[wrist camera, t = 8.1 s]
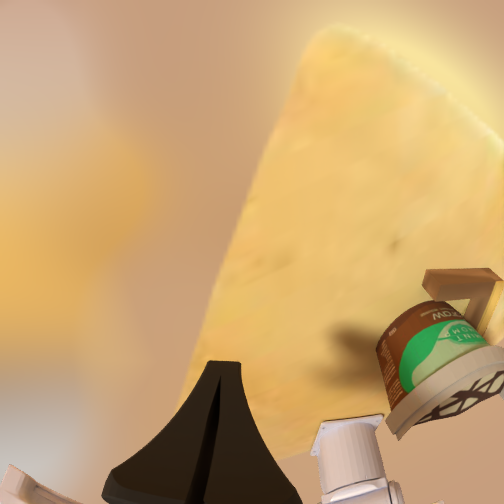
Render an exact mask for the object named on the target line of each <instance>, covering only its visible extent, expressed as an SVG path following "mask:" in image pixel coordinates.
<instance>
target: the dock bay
mask: <svg viewBox="0 0 504 504" xmlns="http://www.w3.org/2000/svg"><path fill="white" fill-rule="evenodd" d="M422 286H423V287H424V289H425V290H426V291H427V292H428V293H429V295H430V296H431V297H432V298H433V300H434V301H435V302H438V301H449V300H460V299H470V298H471V299H470V302H469V305H468V307H467V310H466V312H465V315H464V317H463V318H464V319H465V320H466V321H467V322H468V323H469V324H470V325H471V326H472V327H473V328H474V329H475V330H476V331H477V332H478V333H479V334H480V335H481V336H483V334H484V332H485V330H486V328H487V326H488V323H489V321H490V319H491V317H492V315H493V312H494V310H495V308H496V305H497V303H498V300H499V298H500V295H501V293H502V290H503V287H504V281H503V280H502V279H501V278H500V277H499V276H498V275H496V274H495V273H494V272H493V271H492V270H491V269H489V268H473V269H431V270H426V273H425V276H424V280H423V283H422Z"/></svg>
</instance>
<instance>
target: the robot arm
mask: <svg viewBox="0 0 504 504" xmlns="http://www.w3.org/2000/svg"><path fill="white" fill-rule="evenodd" d="M382 419H383V415H381V414H380V415H374V416H367V417H360V418H353V419H345V420H336V421H325V422H322V423H321V425H320V428H319V431H318V433H317V436H316V439H315V441H314V444H313V447H312V449H311V452H310V455H311V456H314V455H315V456H316V455H317V457H318V465H319V474H320V483H321V489H322V491H323V493H324V494H325V495H323V496H321V497H322V502H319V503H318V504H404V499H403V495H402V491H401V488H400V485H399V483H398V482H395V481H393V480H392V481H390V482H388V480H387V479H386V474H385V470H384V466H383V462H382V458H381V455H380V451H379V447H378V443H377V440H376V436H375V432H374V431H375V430H376V429H377V427H378V425H379V424H380V422H381V420H382ZM101 496H102V498H103V499H104V500H105V501H106V502H107V503H109V504H303V503H302V500H301V498H300V496H299V495H298V493H297V490H296V489H295V487H294V486H293V485H292V484H291V483H290V482H289V480H288V479H287V477H286V476H285V475H284V473H283V472H282V470H281V469H280V468H279V466H278V465H277V463H276V461H275V460H274V458H273V457H272V455H271V453H270V452H269V450H268V448H267V447H266V445H265V443H264V441H263V439H262V437H261V435H260V433H259V431H258V429H257V426H256V424H255V422H254V419H253V417H252V414H251V412H250V409H249V406H248V403H247V399H246V396H245V393H244V388H243V384H242V378H241V363H239V362H234V361H211V360H210V361H208V362H207V364H206V367H205V369H204V371H203V373H202V375H201V377H200V378H199V380H198V382H197V384H196V385H195V387H194V389H193V390H192V392H191V393H190V395H189V397H188V398H187V400H186V401H185V402H184V404H183V405H182V406H181V408H180V409H179V411H178V412H177V413H176V414H175V416H174V417H173V418H172V419H171V421H170V422H169V423H168V424H167V425H166V426H165V428H163V430H161V432H159V434H158V435H157V436H156V437H155V438H153V439H152V440H151V441H150V442H149V443H148V444H147V445H146V446H145V447H143V448H142V449H141V450H140V451H138V452H137V453H136V454H135V455H133V456H132V457H131V458H129V459H128V460H126V461H125V462H123V463H122V464H120V465H119V466H117V467H115V468H114V469H112V470H111V472H110V474H109V476H108V478H107V480H106V482H105V485H104V488H103V492H102V495H101ZM0 504H81V503H79V502H77V501H74V500H72V499H70V498H68V497H65V496H63V495H61V494H59V493H57V492H55V491H53V490H51V489H49V488H47V487H45V486H43V485H41V484H40V483H38V482H36V481H35V480H34V479H33V478H32V477H30V476H29V475H27V474H26V473H24V472H23V471H21V470H19V469H18V468H16V467H14V466H13V465H9V466H8V469H7V471H6V473H5V475H4V478H3V480H2V482H1V485H0ZM432 504H445V503H444V500H440V501H437V502H435V503H432Z"/></svg>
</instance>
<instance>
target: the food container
mask: <svg viewBox="0 0 504 504" xmlns="http://www.w3.org/2000/svg"><path fill="white" fill-rule="evenodd" d="M376 352H377V356H378V360H379V363H380V367H381V371H382V375H383V379H384V383H385V387H386V391H387V395H388V400H389V404H390V408H391V413H390V414H389V416H388V417H387V419H386V420H385V421H386V424H387V425H388V427H389V429H390V430H391V432H392V434H396V436H397V439H398V441H399V440H400V439H401V437H402V436H403V435H404V434H405V433H406V432H407V431H408V430H409V429H410V428H411V427H412V426H414V425H417V424H421V423H425V422H428V421H432V420H437V419H443V418H448V417H452V416H456V415H459V414H461V413H463V412H465V411H466V410H468V409H469V408H471V407H472V406H474V405H475V404H477V403H479V402H481V401H483V400H485V399H487V398H490V397H492V396H494V395H496V394H499V395H500V396H501V397H502V399H503V400H504V348H502V347H500V346H496V345H495V346H490V345H489V344H488V343H487V341H486V340H485V339H484V338H483V337H482V336H481V335H480V334H479V333H478V332H477V331H476V330H475V329H474V328H473V327H472V326H471V325H470V324H469V323H468V322H467V321H466V320H465V319H464V318H463V317H462V316H461V315H460V314H459V313H458V312H457V311H456V310H455V309H454V308H453V307H452V306H450V305H449V304H448V303H446V302H445V301H438V302H435V301H434V300H431V301H427V302H423V303H420V304H418V305H416V306H414V307H412V308H410V309H408V310H407V311H405V312H404V313H403V314H401V315H400V316H399V317H398V318H396V319H395V320H394V321H393V322H392V323H391V324H390V326H389V327H388V328H387V329H386V330H385V332H384V333H383V335H382V336H381V338H380V340H379V342H378V345H377V348H376Z"/></svg>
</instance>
